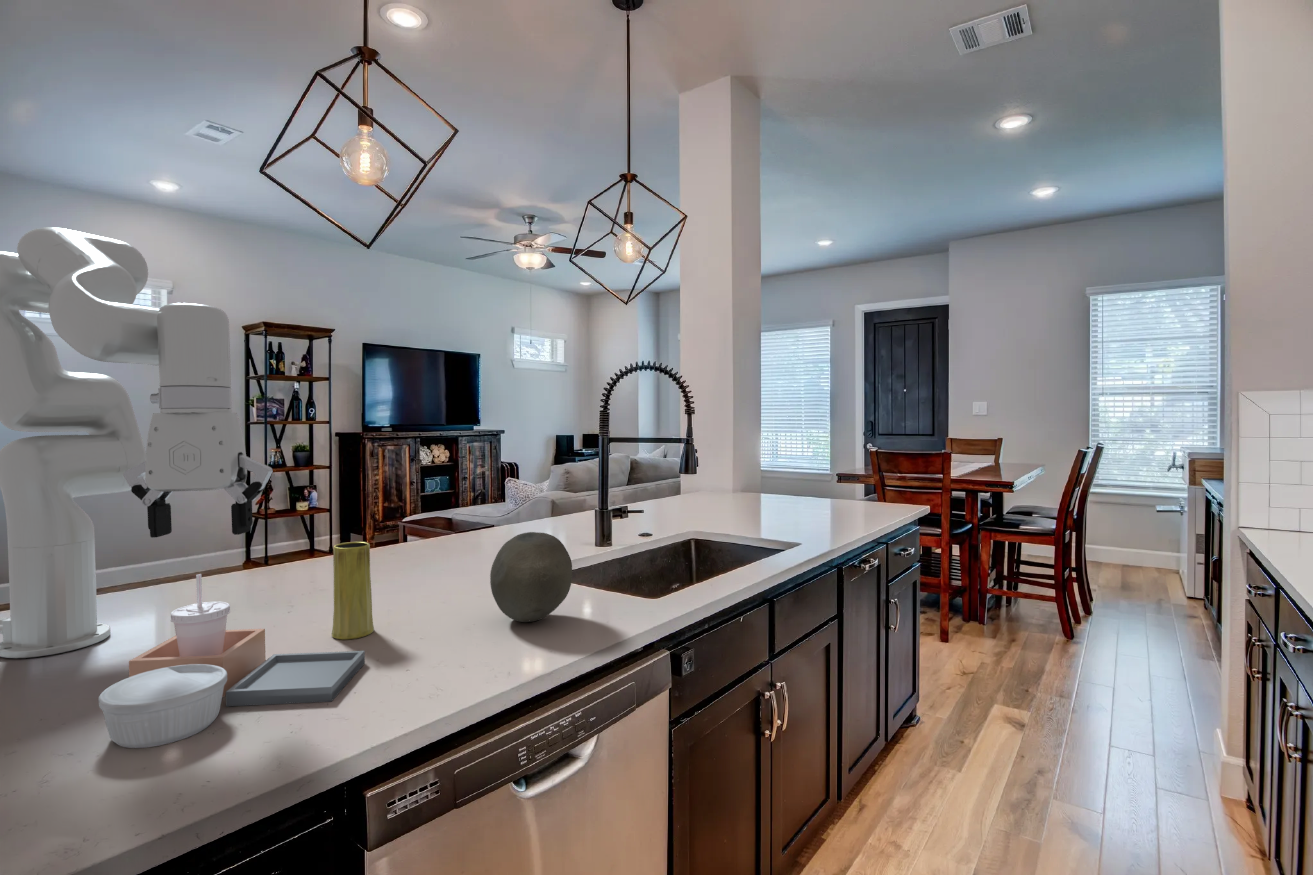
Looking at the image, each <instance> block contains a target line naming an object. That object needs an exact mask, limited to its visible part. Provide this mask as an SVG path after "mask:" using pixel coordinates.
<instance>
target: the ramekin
mask: <svg viewBox="0 0 1313 875" xmlns="http://www.w3.org/2000/svg"><path fill="white" fill-rule="evenodd" d="M226 682H227V671H226V670H225V669H224V668H222V667H219V666H215V665H208V664H188V665H178V666H171V667H165V668H160V669H156V670H151V671H147V672H144V673H140V674H137V675H134V676H131V677H129V676H128V677H127V678H124V679H121V680H120V681H117V682H115V683H113V684H112V685H110V686H108V687H107V688H106V689H104V690H102V692H101V693H100V695H99V696H98V707H99V709H100V710H101V711H102V713H103V717H104V721H105V725H106V729H107V733H108V735H109V738H110V740H111V741H112V742H114V743H115V744H116V745H118V746H119V747H123V748H128V749H129V748H130V749H142V748H143V749H144V748H152V747H159V746H164V745H168V744H171V743H175V742H178V741H181V740H184V739H186V738H189V737H190V738H191V737H192V736H194V735H196V734H198V733H200V732H202V731H203V730H205V729H207V728H208V727H209V726H211V724H212V723H213V722H214V721H215V719H217V718H218V715H219V712H220V710H221V704H222V699H223V697H222V695H223V689H224V685H225V684H226Z"/></svg>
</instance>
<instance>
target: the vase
mask: <svg viewBox="0 0 1313 875" xmlns="http://www.w3.org/2000/svg"><path fill="white" fill-rule="evenodd" d="M370 546H371V544H370V543H369V542H367V541H350V542H341V543H337V544H334V546H333V548H332V550H333V551H332V552H333V558H332V559H333V560H332V561H333V563H332V565H333V616H332V617H333V618H332V631H331V638H334V639H337V640H343V641H344V640H357V639H361V638H365V637H367V636H369V635H370V634H372V633H373V632H374V631H375V630H374V629H375V628H374V620H373V618H374V617H373V599H372V598H373V597H372V596H373V595H372V579H371V547H370Z"/></svg>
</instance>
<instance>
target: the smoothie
mask: <svg viewBox="0 0 1313 875" xmlns="http://www.w3.org/2000/svg"><path fill="white" fill-rule="evenodd" d="M195 580H196V584H195V585H196V603H192V604H188V605H184V606H181V607H178V608H176V609H174V610H172V611H171V613H170V619H169V620H170V622H171V623H173V625H174V633H175V636H176V638H177V643H178V649H179V654H180V657H184V656H210V655H220V654H222V653H223V647H224V639H225V630H227V629H226V628H227V623H228V622H227V621H228V615H229V614H231V605H230V603H228V602H225V601H205V602H204V601H203V593H202V592H203V588H202V584H203V583H202V573H199V574H196V575H195Z"/></svg>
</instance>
